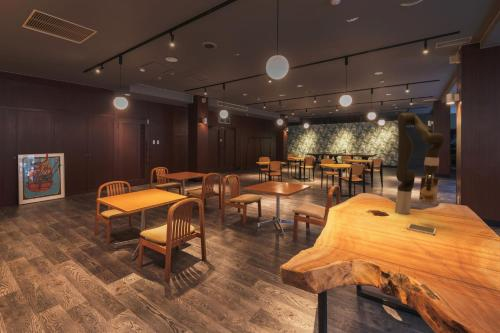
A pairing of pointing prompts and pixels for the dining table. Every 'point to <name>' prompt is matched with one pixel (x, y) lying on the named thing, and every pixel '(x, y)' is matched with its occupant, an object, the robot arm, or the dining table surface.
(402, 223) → the dining table surface
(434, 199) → the coffee box
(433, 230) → the mat
